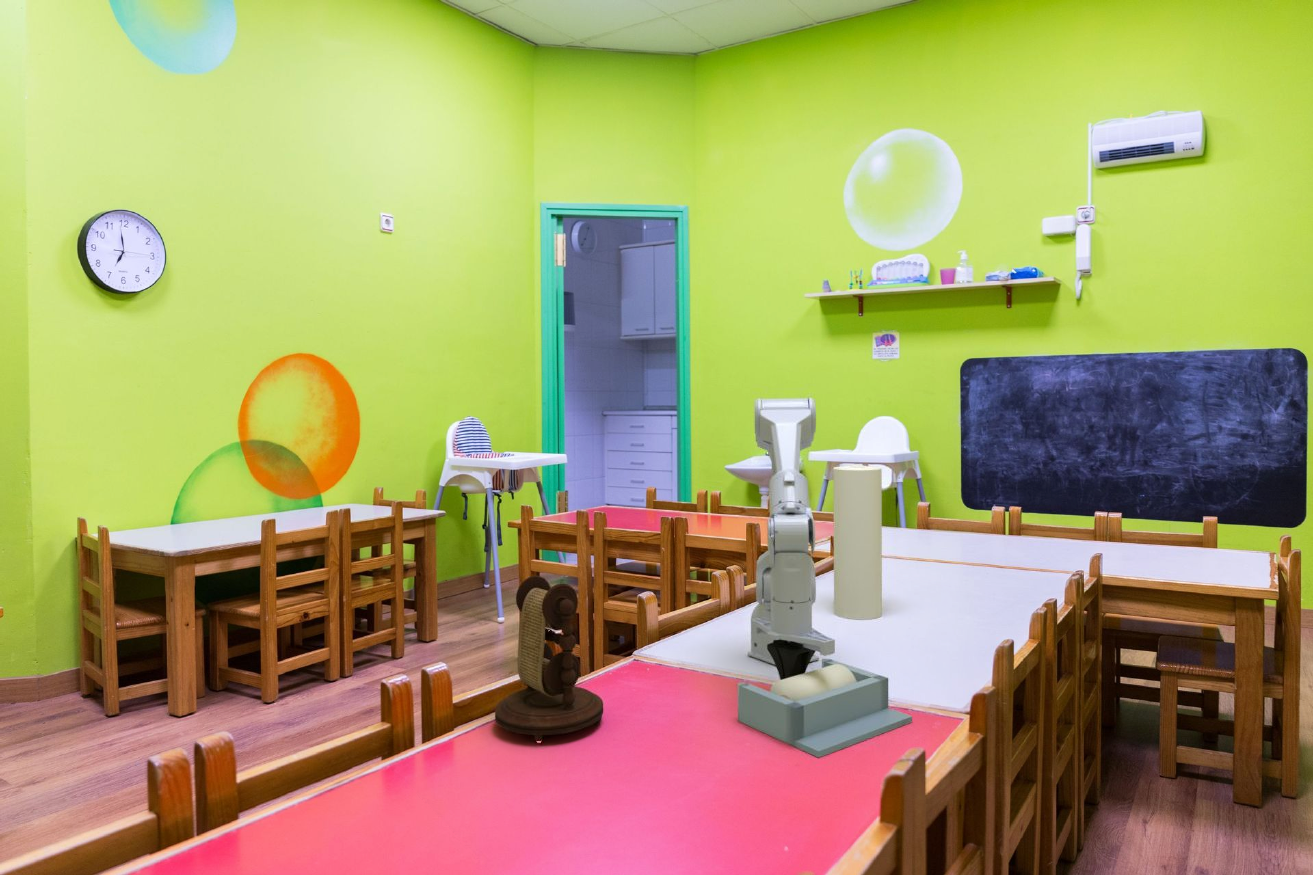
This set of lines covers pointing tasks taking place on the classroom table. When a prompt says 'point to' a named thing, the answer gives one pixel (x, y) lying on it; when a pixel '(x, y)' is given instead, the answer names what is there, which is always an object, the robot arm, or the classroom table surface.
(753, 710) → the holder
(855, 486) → the cylinder container
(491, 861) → the classroom table surface
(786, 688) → the cylinder
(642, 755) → the classroom table surface
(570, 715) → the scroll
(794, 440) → the robot arm
